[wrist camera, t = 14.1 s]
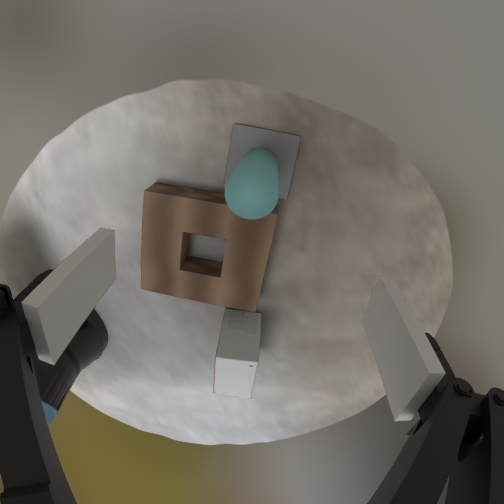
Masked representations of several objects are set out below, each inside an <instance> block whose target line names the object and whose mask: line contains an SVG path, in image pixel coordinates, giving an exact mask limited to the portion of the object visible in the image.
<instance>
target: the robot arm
mask: <svg viewBox="0 0 504 504" xmlns="http://www.w3.org/2000/svg"><path fill="white" fill-rule="evenodd" d="M115 279H116V267H115V234H114V230H111V229H105V228H100V229H99V230H98V231H97V232H96V233H94V234H93V235H92V236H91V237H90V238H89V239H87V240H86V241H85V242H84V243H83V244H82V245H81V246H80V247H78V248H77V249H76V250H75V251H74V252H73V253H72V254H71V255H70V256H69V257H67V258H66V259H65V260H64V261H63V262H62V263H61V264H60V265H59V266H58V267H57V268H56V269H55V270H50V269H49V270H47V271H45V272H43V273H41V274H40V275H39V276H37V277H36V278H35V279H34V280H33V282H31V283H30V284H29V285H28V287H26V288H25V289H24V290H23V291H22V292H21V293H20V294H19V295H18V296H17V297H16V298H15V299H14V300H13V298H12V294H11V290H10V288H9V287H8V286H7V285H3V284H0V473H1V477H2V481H3V485H4V492H2V493H1V494H0V501H1V504H77V503H76V501H75V498H74V496H73V494H72V491H71V489H70V487H69V484H68V482H67V480H66V477H65V474H64V472H63V469H62V466H61V464H60V461H59V458H58V455H57V452H56V450H55V447H54V444H53V441H52V437H51V434H50V431H49V425H50V424H51V422H52V421H53V419H54V418H55V416H56V415H57V414H58V411H59V409H60V407H61V405H62V403H63V401H64V400H65V398H66V396H67V394H68V392H69V390H70V389H71V387H72V385H73V383H74V381H75V380H76V378H77V376H78V374H79V373H80V371H82V370H83V369H84V368H86V367H87V366H88V365H90V364H91V363H92V362H93V361H94V360H96V359H98V358H99V357H100V356H101V354H102V353H103V351H104V349H105V347H106V345H107V332H106V329H105V326H104V324H103V322H102V320H101V319H100V317H99V316H98V315H97V313H96V312H95V311H94V310H93V308H94V307H95V306H96V304H97V303H98V302H99V300H100V299H101V298H102V296H103V295H104V294H105V292H106V291H107V290H108V288H109V287H110V286H111V284H112V283H113V282H114V280H115ZM362 323H363V326H364V328H365V331H366V334H367V337H368V340H369V343H370V345H371V348H372V351H373V354H374V357H375V360H376V363H377V366H378V369H379V372H380V375H381V378H382V381H383V385H384V388H385V391H386V394H387V397H388V400H389V404H390V407H391V410H392V414H393V417H394V421H405V420H411V419H412V418H413V416H414V415H415V414H416V413H417V411H418V412H419V415H420V419H419V420H418V422H417V423H416V424H415V425H414V426H413V427H412V429H411V430H410V431H409V432H408V433H407V434H408V435H410V436H409V438H408V440H407V441H406V443H405V445H404V447H403V448H402V450H401V452H400V454H399V456H398V457H397V459H396V461H395V462H394V464H393V465H392V467H391V469H390V470H389V472H388V474H387V475H386V477H385V478H384V480H383V481H382V483H381V484H380V486H379V488H378V489H377V490H376V492H375V493H374V495H373V496H372V498H371V499H370V501H369V502H368V503H367V504H437V502H438V500H439V498H440V495H441V493H442V491H443V488H444V486H445V484H446V482H447V479H448V477H449V482H448V489H447V494H446V500H445V504H504V391H503V390H501V389H499V388H491V389H490V391H489V392H488V393H487V394H486V395H480V394H477V393H474V390H473V388H472V387H471V385H470V384H469V383H468V382H466V381H465V380H463V379H461V378H456V377H455V375H454V373H453V371H452V369H451V367H450V366H449V364H448V362H447V360H446V358H445V357H444V354H443V353H442V351H441V350H440V347H439V345H438V343H437V342H436V340H435V339H434V338H433V337H432V336H431V335H430V334H429V333H424V331H423V329H422V327H421V326H420V324H419V322H418V320H417V319H416V317H415V315H414V313H413V312H412V310H411V308H410V306H409V305H408V303H407V301H406V300H405V298H404V296H403V294H402V293H401V291H400V289H399V288H398V286H397V285H396V283H395V281H394V280H393V278H388V277H382V276H379V279H378V281H377V284H376V287H375V289H374V292H373V294H372V297H371V299H370V301H369V304H368V306H367V309H366V311H365V313H364V316H363V318H362ZM449 474H450V475H449Z"/></svg>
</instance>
